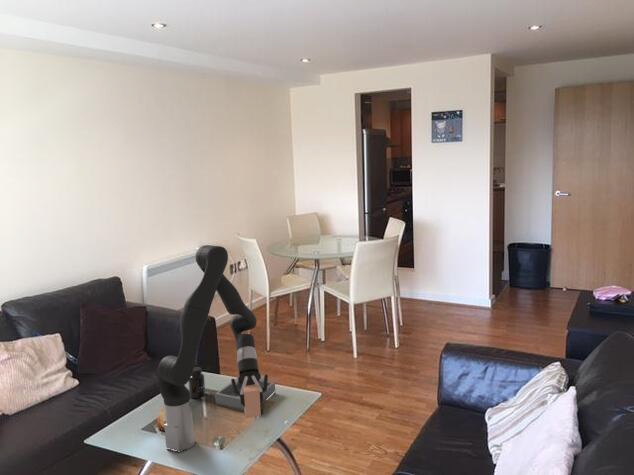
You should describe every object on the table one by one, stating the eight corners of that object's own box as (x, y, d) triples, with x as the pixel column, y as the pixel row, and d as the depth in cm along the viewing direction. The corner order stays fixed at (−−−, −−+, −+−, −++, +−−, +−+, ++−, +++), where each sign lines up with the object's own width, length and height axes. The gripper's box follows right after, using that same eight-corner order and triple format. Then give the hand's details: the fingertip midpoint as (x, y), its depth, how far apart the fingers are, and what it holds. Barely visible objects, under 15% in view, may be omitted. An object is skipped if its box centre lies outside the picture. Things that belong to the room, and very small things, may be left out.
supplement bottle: (203, 398, 225) (201, 372, 222) (187, 399, 225) (185, 372, 223) (207, 391, 231) (205, 365, 229) (191, 391, 231) (189, 366, 229)
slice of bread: (175, 402, 223) (174, 394, 222) (203, 414, 212) (203, 406, 211) (138, 421, 209) (138, 412, 208) (167, 434, 198) (166, 425, 197)
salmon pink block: (260, 415, 191) (259, 390, 189) (245, 417, 190) (244, 392, 188) (259, 408, 196) (257, 383, 195) (244, 410, 195) (242, 385, 193)
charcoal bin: (251, 413, 210) (251, 401, 210) (215, 404, 219) (215, 393, 218) (275, 393, 226) (274, 382, 225) (241, 386, 234) (240, 376, 233)
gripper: (228, 359, 195) (232, 404, 186) (266, 354, 199) (272, 398, 189) (228, 367, 201) (232, 411, 192) (265, 362, 205) (271, 405, 195)
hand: (252, 404), depth 190 cm, fingers closed on salmon pink block, 5 cm apart
